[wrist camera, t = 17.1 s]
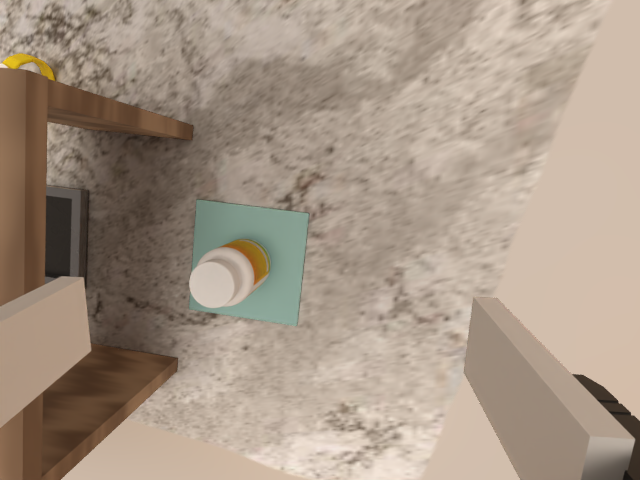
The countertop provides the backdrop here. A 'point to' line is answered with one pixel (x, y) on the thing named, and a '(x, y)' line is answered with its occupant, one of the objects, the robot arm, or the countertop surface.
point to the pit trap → (65, 233)
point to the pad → (277, 238)
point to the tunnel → (29, 274)
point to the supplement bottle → (229, 273)
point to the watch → (21, 59)
